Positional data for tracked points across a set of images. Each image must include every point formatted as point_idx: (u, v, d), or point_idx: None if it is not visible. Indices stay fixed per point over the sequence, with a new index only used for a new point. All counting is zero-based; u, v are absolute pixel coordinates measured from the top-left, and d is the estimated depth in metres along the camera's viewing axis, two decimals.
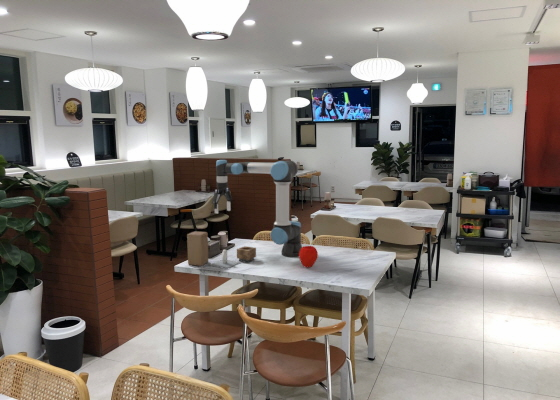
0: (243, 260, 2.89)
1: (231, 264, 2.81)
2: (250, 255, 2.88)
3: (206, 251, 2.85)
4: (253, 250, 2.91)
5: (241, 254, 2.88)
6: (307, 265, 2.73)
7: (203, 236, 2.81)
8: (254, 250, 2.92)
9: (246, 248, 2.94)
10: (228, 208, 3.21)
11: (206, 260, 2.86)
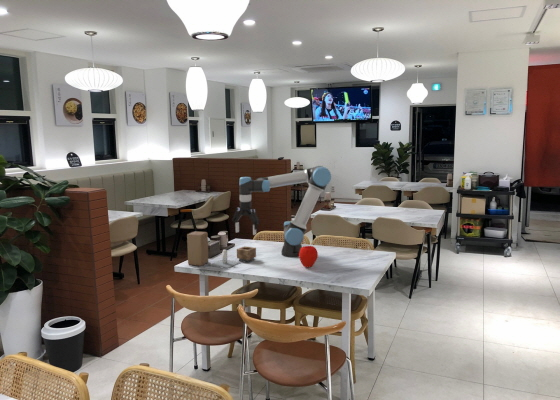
0: (243, 260, 2.89)
1: (231, 264, 2.81)
2: (250, 255, 2.88)
3: (206, 250, 2.85)
4: (253, 250, 2.91)
5: (241, 254, 2.88)
6: (307, 265, 2.73)
7: (203, 236, 2.81)
8: (254, 250, 2.92)
9: (246, 248, 2.94)
10: None
11: (206, 260, 2.86)
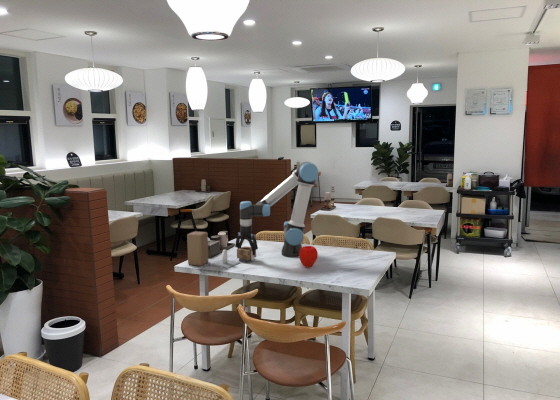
0: (243, 260, 2.89)
1: (231, 264, 2.81)
2: (250, 255, 2.88)
3: (206, 250, 2.85)
4: None
5: (241, 254, 2.88)
6: (307, 265, 2.73)
7: (203, 236, 2.81)
8: None
9: (246, 248, 2.94)
10: None
11: (206, 260, 2.86)
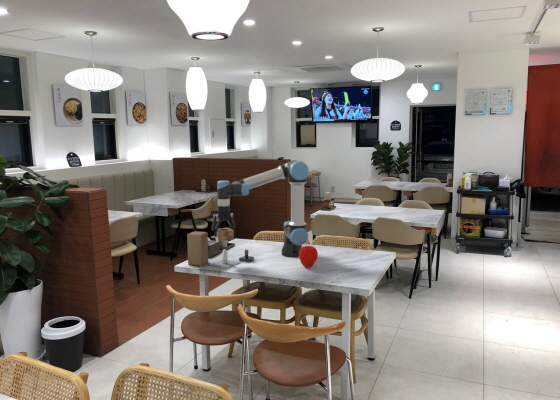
0: (243, 260, 2.89)
1: (231, 264, 2.81)
2: None
3: (206, 250, 2.85)
4: None
5: (225, 235, 2.77)
6: (307, 265, 2.73)
7: (203, 236, 2.81)
8: None
9: (220, 230, 2.82)
10: None
11: (206, 260, 2.86)
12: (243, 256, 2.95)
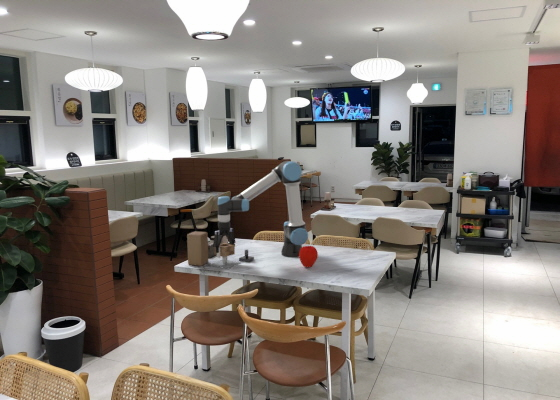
0: (243, 260, 2.89)
1: (231, 264, 2.81)
2: None
3: (206, 250, 2.85)
4: None
5: (228, 251, 2.79)
6: (307, 265, 2.73)
7: (203, 236, 2.81)
8: None
9: (219, 246, 2.83)
10: None
11: (206, 260, 2.86)
12: (243, 256, 2.95)
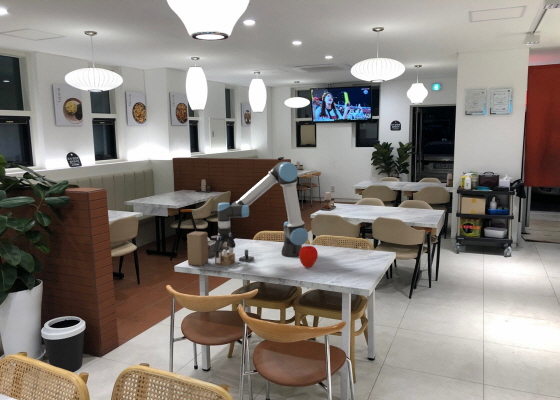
0: (243, 260, 2.89)
1: (231, 264, 2.81)
2: None
3: (206, 250, 2.85)
4: None
5: (229, 260, 2.81)
6: (307, 265, 2.73)
7: (203, 236, 2.81)
8: None
9: (220, 255, 2.83)
10: None
11: (206, 260, 2.86)
12: (243, 256, 2.95)
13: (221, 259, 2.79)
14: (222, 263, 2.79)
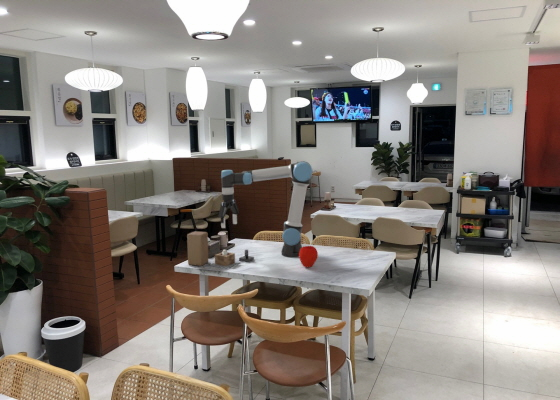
0: (243, 260, 2.89)
1: (231, 264, 2.81)
2: None
3: (206, 250, 2.85)
4: None
5: (229, 260, 2.81)
6: (307, 265, 2.73)
7: (203, 236, 2.81)
8: None
9: (220, 255, 2.83)
10: (234, 221, 2.99)
11: (206, 260, 2.86)
12: (243, 256, 2.95)
13: (221, 259, 2.79)
14: (222, 263, 2.79)
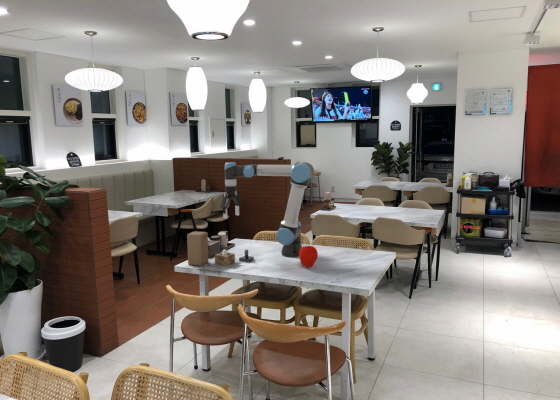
0: (243, 260, 2.89)
1: (231, 264, 2.81)
2: None
3: (206, 250, 2.85)
4: None
5: (229, 260, 2.81)
6: (307, 265, 2.73)
7: (203, 236, 2.81)
8: None
9: (220, 255, 2.83)
10: (236, 213, 3.07)
11: (206, 260, 2.86)
12: (243, 256, 2.95)
13: (221, 259, 2.79)
14: (222, 263, 2.79)
